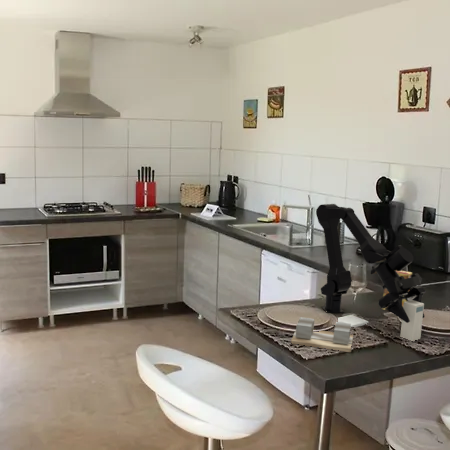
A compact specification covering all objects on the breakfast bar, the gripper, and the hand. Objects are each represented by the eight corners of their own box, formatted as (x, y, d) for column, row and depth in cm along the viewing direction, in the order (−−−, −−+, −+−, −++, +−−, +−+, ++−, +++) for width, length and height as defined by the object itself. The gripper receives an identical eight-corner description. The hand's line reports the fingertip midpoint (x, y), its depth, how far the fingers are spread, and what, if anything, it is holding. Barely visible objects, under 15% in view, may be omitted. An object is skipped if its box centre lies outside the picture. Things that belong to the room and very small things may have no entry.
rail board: (297, 330, 194) (298, 314, 193) (353, 337, 189) (354, 321, 188) (290, 343, 181) (292, 326, 180) (350, 352, 177) (352, 335, 176)
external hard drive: (368, 325, 204) (343, 331, 196) (350, 318, 210) (325, 324, 203) (368, 321, 203) (343, 326, 196) (350, 314, 210) (325, 319, 202)
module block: (400, 337, 192) (403, 302, 190) (408, 334, 194) (411, 299, 192) (412, 341, 188) (416, 305, 186) (420, 339, 191) (424, 303, 189)
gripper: (389, 268, 184) (416, 312, 178) (423, 262, 196) (450, 303, 189) (366, 287, 192) (392, 329, 185) (401, 279, 203) (425, 319, 197)
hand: (416, 320), depth 189 cm, fingers open, 8 cm apart
